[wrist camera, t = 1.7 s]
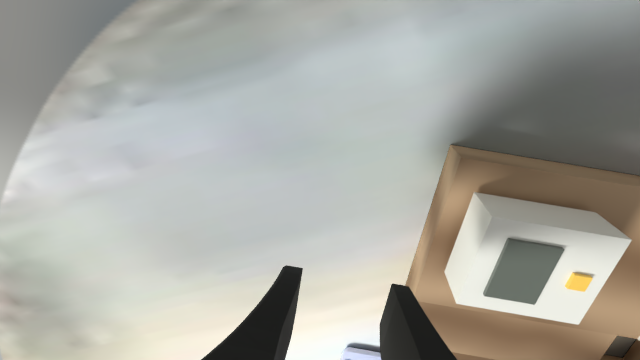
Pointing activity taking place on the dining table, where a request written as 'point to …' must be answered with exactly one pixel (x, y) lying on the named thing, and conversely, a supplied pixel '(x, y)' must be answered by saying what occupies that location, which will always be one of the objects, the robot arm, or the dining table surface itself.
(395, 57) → the dining table surface
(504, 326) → the board
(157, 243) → the dining table surface
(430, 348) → the robot arm
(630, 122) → the dining table surface
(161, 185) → the dining table surface
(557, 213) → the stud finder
